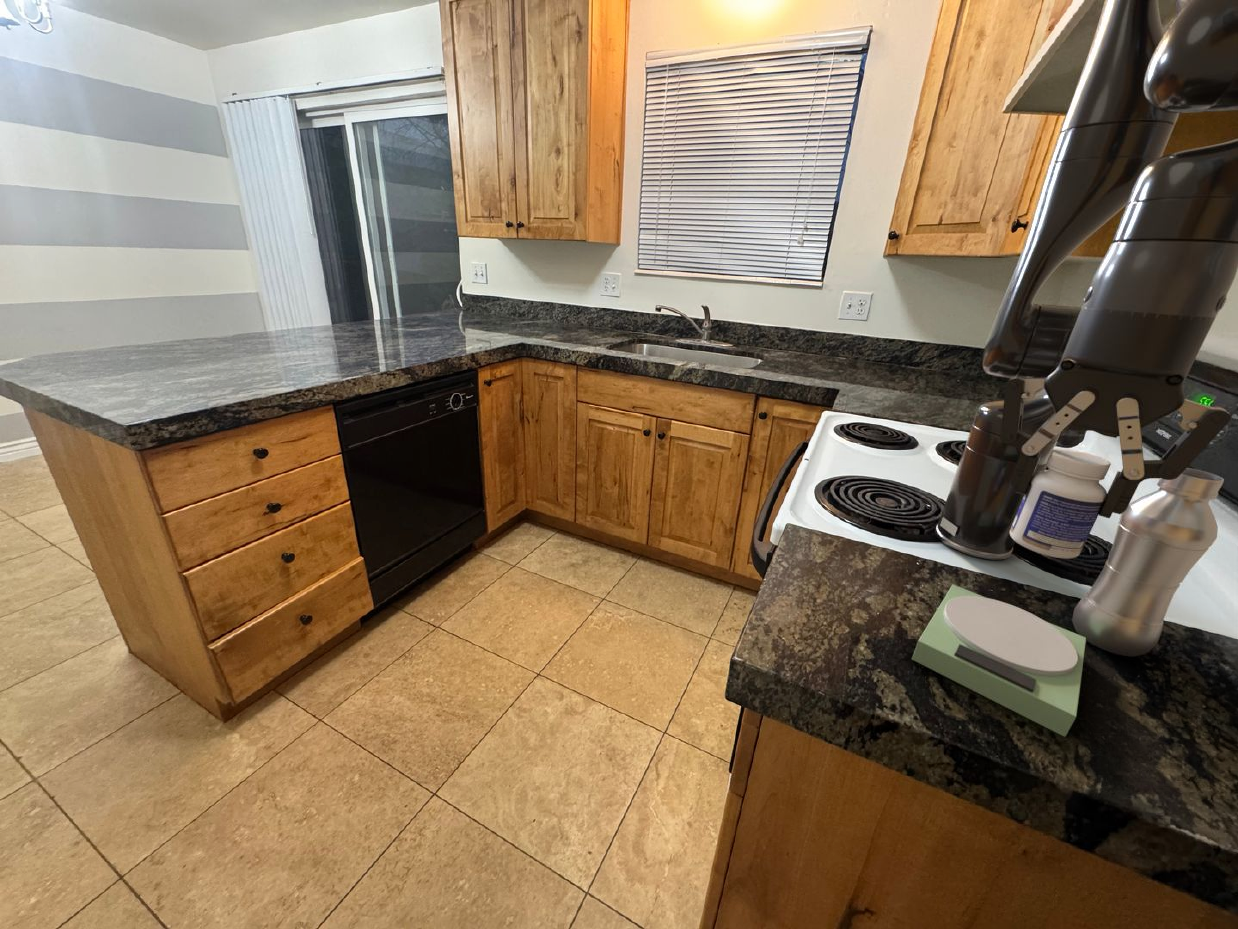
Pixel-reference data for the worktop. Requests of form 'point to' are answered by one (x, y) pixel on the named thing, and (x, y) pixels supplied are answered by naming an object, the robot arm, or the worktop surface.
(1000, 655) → the kitchen scale
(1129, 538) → the silver metal bottle
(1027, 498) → the pill bottle
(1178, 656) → the worktop surface
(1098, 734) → the worktop surface
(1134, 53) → the robot arm
